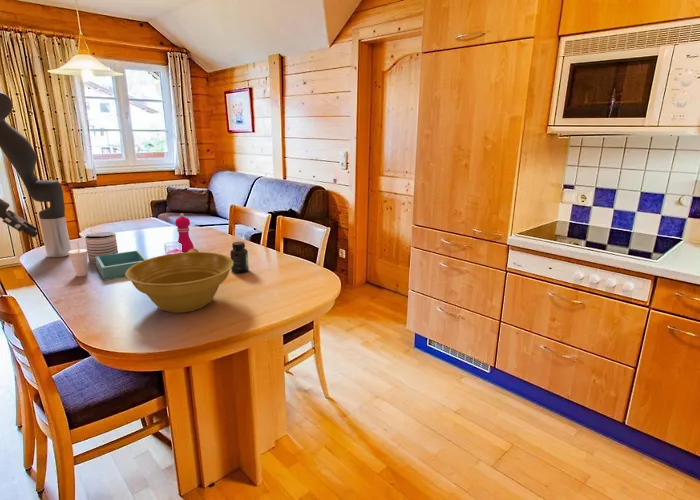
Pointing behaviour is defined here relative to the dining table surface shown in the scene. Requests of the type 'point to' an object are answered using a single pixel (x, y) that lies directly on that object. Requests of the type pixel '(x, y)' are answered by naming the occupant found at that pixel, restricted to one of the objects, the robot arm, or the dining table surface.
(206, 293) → the planter bowl
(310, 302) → the dining table surface
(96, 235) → the can
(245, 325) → the dining table surface
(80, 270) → the smoothie
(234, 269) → the supplement bottle
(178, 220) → the pepper mill
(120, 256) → the tote
